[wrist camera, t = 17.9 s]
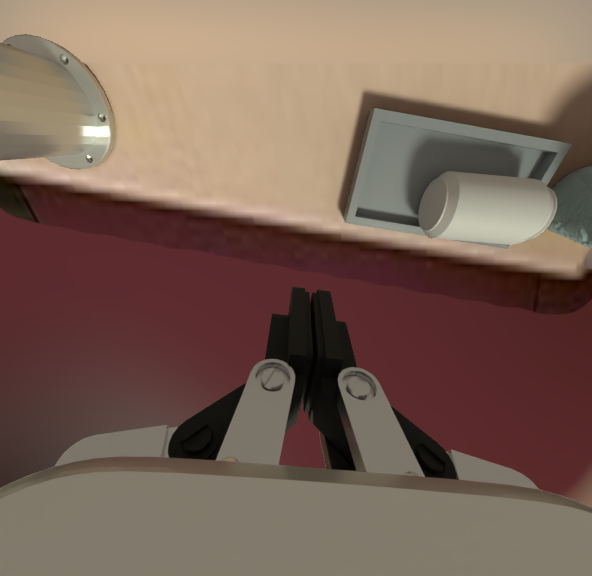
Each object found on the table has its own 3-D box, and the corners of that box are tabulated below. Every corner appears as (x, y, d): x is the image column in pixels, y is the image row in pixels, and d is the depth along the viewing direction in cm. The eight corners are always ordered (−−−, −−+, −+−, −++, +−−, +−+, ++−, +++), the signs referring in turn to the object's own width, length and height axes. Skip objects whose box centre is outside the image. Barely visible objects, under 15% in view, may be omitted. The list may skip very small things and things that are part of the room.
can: (459, 199, 24) (581, 210, 24) (440, 156, 28) (545, 165, 28) (421, 250, 30) (518, 258, 30) (411, 209, 34) (496, 216, 34)
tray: (343, 217, 35) (345, 222, 33) (369, 110, 29) (374, 107, 26) (495, 242, 36) (507, 248, 34) (553, 143, 29) (572, 143, 27)
